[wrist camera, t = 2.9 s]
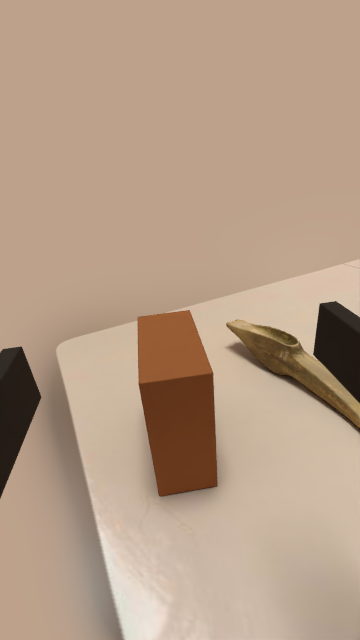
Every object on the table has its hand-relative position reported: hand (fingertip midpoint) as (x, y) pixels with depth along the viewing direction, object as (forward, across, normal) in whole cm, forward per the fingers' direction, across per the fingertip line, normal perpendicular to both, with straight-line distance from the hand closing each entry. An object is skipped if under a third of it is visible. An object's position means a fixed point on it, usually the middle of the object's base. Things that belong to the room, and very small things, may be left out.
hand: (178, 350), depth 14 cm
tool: (+16, +15, -18) cm, 28 cm away
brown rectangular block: (+10, 0, -17) cm, 20 cm away
